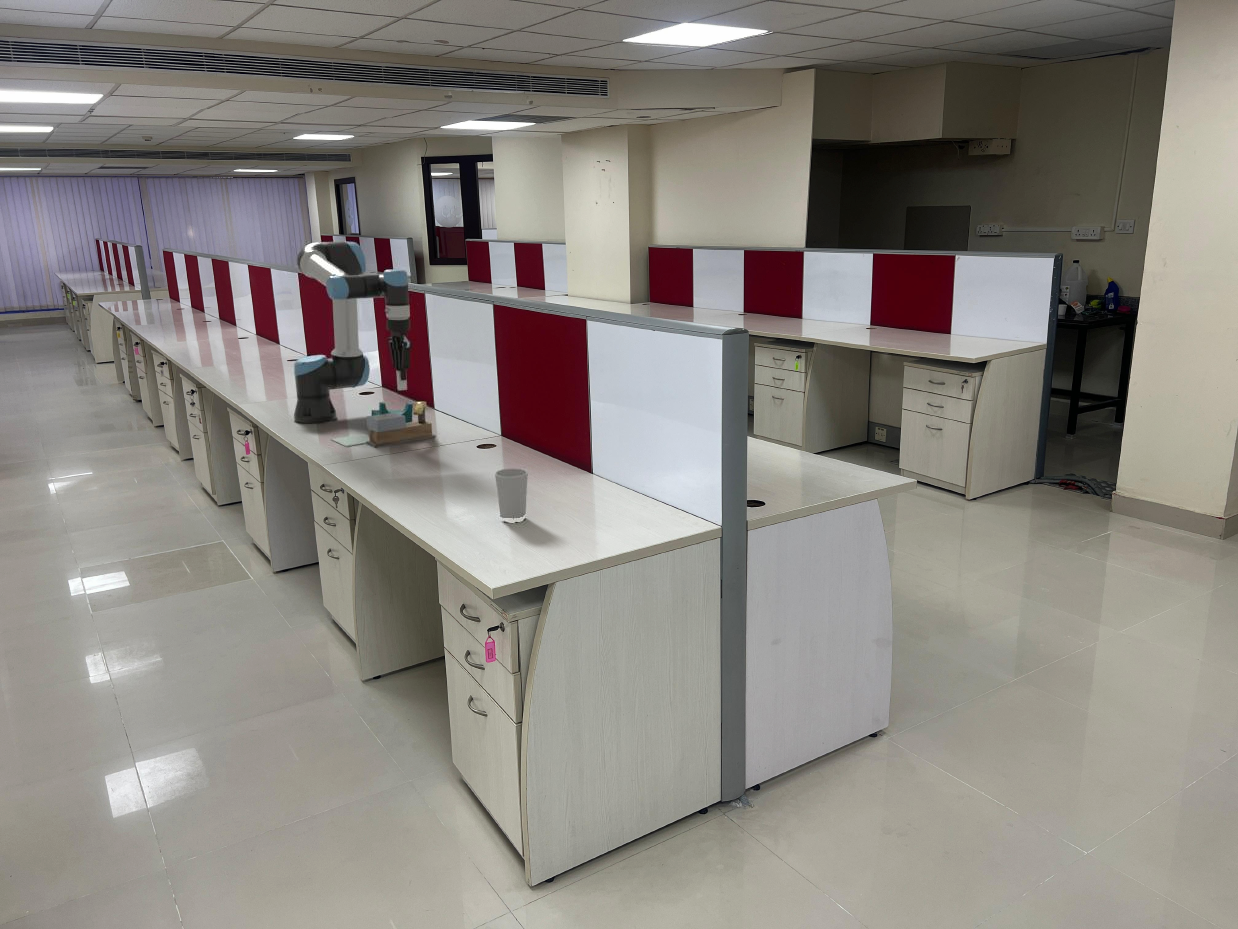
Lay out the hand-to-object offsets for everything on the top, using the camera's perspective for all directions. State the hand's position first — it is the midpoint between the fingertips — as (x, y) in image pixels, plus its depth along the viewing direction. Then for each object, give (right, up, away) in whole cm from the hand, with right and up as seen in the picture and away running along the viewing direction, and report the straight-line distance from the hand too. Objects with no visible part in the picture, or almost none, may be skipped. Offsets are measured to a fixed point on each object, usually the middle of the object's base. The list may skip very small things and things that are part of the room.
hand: (402, 389), depth 294 cm
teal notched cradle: (-10, -12, +23) cm, 28 cm away
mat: (-17, -17, +4) cm, 24 cm away
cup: (+46, -39, -75) cm, 96 cm away
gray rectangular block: (-5, -13, 0) cm, 14 cm away
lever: (+5, -7, +3) cm, 9 cm away
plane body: (-1, -17, +5) cm, 18 cm away
